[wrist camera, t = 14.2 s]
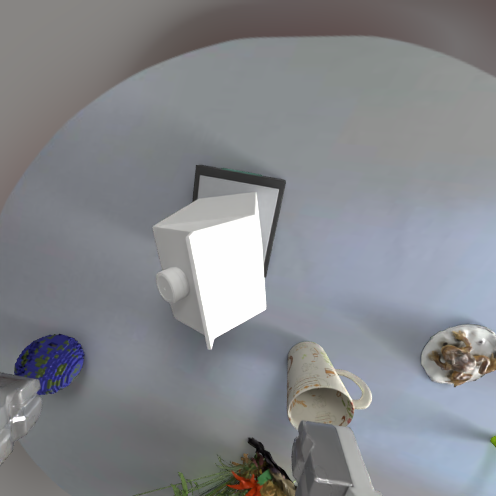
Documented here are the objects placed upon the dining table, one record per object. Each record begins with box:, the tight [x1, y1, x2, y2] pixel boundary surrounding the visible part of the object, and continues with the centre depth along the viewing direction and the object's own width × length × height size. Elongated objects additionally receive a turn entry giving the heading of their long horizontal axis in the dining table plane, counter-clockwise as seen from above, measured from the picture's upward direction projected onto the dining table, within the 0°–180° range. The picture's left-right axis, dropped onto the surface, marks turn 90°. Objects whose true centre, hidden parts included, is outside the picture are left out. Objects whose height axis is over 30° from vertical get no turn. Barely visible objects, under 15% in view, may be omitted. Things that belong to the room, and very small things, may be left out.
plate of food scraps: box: [421, 324, 496, 387], centre depth 39 cm, size 12×12×4 cm
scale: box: [193, 165, 286, 278], centre depth 34 cm, size 13×11×3 cm
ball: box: [14, 334, 84, 395], centre depth 39 cm, size 8×8×8 cm
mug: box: [287, 342, 372, 430], centre depth 37 cm, size 8×13×10 cm, turn 83°
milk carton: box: [153, 192, 266, 350], centre depth 24 cm, size 7×7×19 cm
